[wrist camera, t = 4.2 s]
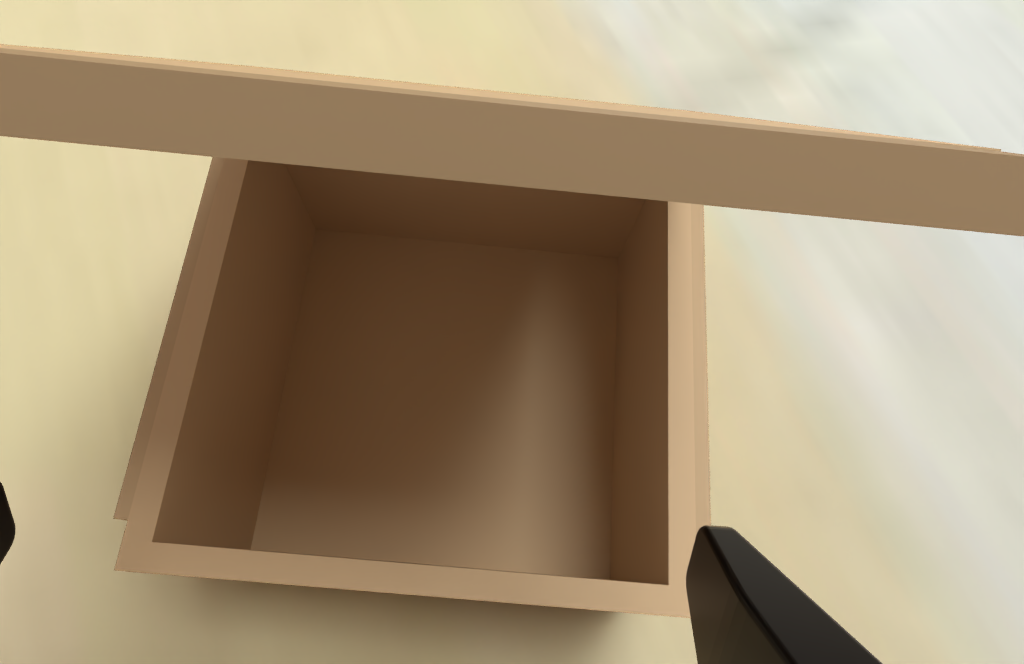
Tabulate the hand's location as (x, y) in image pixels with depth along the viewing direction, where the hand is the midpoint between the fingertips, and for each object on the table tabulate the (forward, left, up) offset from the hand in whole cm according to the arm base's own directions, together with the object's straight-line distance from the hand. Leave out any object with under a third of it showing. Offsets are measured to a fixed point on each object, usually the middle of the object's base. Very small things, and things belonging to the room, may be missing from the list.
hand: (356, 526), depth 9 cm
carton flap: (+6, 0, 0) cm, 6 cm away
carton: (+5, 0, -13) cm, 14 cm away
